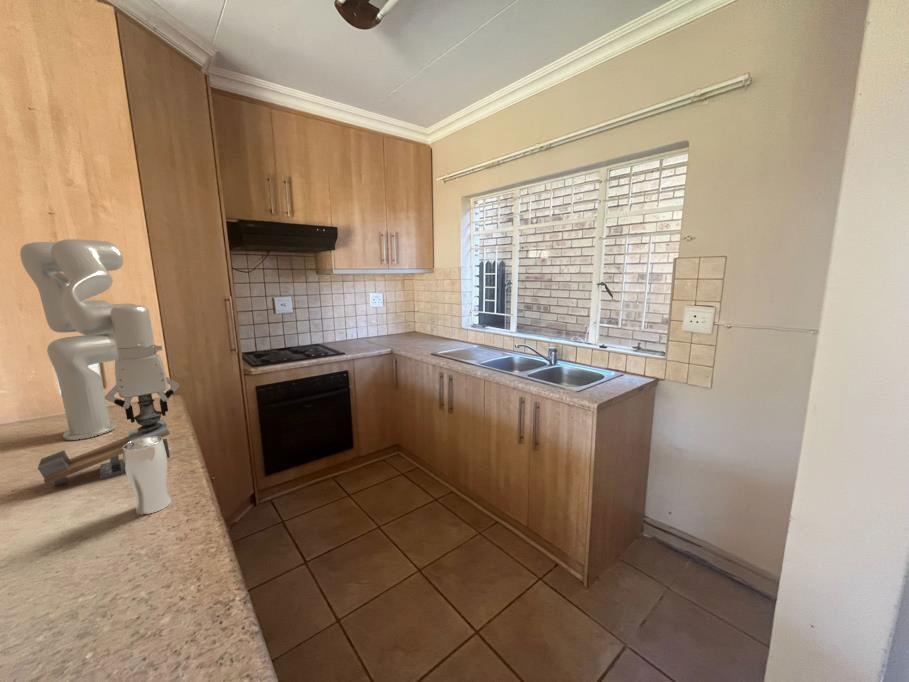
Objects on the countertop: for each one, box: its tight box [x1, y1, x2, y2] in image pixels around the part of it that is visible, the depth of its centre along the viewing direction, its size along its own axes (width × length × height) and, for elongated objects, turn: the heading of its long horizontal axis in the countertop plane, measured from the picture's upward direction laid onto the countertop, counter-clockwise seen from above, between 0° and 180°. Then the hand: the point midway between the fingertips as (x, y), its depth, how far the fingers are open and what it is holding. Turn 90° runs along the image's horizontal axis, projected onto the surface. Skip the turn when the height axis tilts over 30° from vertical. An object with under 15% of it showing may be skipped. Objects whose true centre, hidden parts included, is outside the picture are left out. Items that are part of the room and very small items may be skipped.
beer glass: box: [122, 436, 172, 516], centre depth 79 cm, size 7×7×15 cm
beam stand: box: [53, 438, 170, 489], centre depth 95 cm, size 8×22×5 cm, turn 133°
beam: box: [37, 418, 171, 485], centre depth 94 cm, size 10×24×4 cm, turn 133°
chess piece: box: [134, 394, 162, 432], centre depth 98 cm, size 6×6×12 cm
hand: (148, 417), depth 99 cm, fingers closed on chess piece, 5 cm apart
